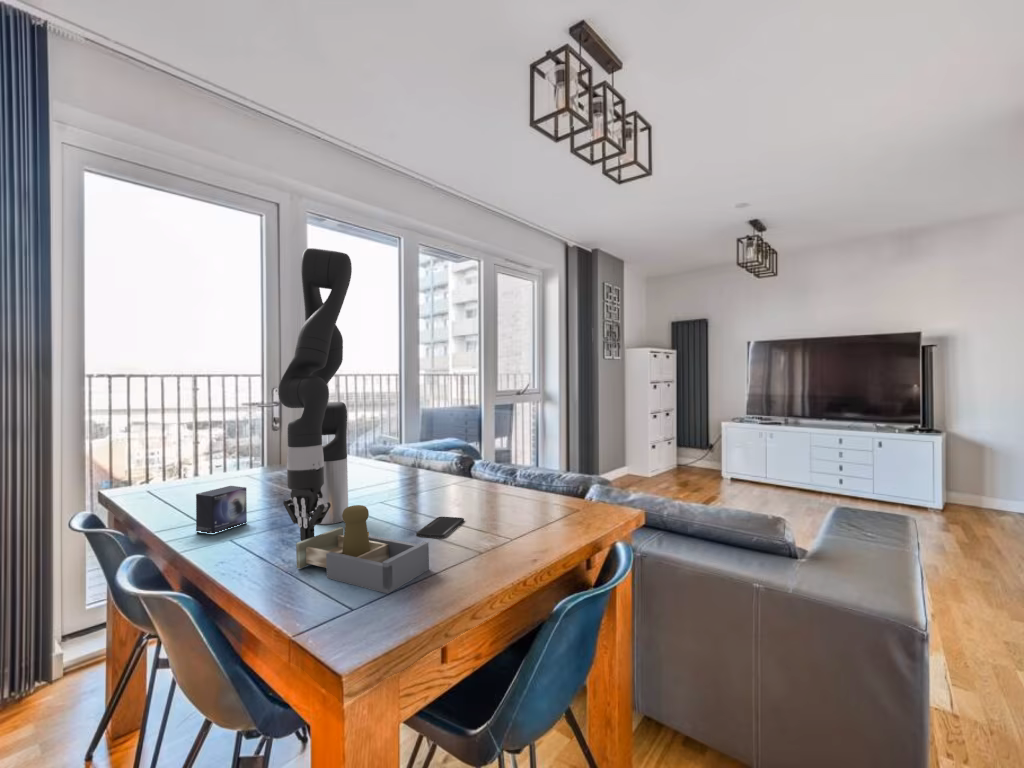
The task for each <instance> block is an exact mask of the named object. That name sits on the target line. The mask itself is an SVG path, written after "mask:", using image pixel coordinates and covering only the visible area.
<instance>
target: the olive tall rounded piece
mask: <svg viewBox="0 0 1024 768" xmlns="http://www.w3.org/2000/svg"><path fill="white" fill-rule="evenodd" d="M369 513H370V512H369V509H368V507H367V506H365V505H361V504H356V505H351V506H348V507H347V508H345V509H344V511H343V514H342V518H343V521H342V522H344V523H345V525H344V541H343V550H342V554H344V555H349V556H353V557H358V556H360V555H362V554H365V553H367V552H369V551H371V549H370V543H369V537H368V532H369V531H368V525H367V520H368V519H369V516H370V514H369Z"/></svg>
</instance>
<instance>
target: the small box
mask: <svg viewBox="0 0 1024 768" xmlns="http://www.w3.org/2000/svg"><path fill="white" fill-rule="evenodd" d="M195 498H196V499H195V506H196V507H195V508H196V509H195V513H196V514H195V515H196V517H195V519H196V520H195V523H196V526H195V532H196V531H201V532H207V533H215V532H219V531H222V530H225V529H228V528H231V527H234V526H237V525H240V524H243V523H246V522H247V521H248V519H247V517H248V513H247V508H248V507H247V504H248V503H247V487H245V486H238V485H228V486H227V485H226V486H224V487H219V488H216V489H209V490H207V491H203V492H199V493H196V494H195ZM247 523H248V522H247Z"/></svg>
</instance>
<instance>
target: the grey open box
mask: <svg viewBox="0 0 1024 768" xmlns="http://www.w3.org/2000/svg"><path fill="white" fill-rule="evenodd" d="M368 537H369V540H370V541H375V542H380V543H385V544H389V559H388V560H386V561H384V562H382V563H380V562H375V561H371V560H366V559H362V558H357V557H353V556H348V555H344V554H339V553H335V552H329V553H327V554H326V564H327V568H326V578H327V579H331V580H333V581H338V582H341V583H346V584H349V585H353V586H357V587H361V588H365V589H369V590H372V591H376V592H380V593H383V594H390V593H392V592H394V591H395V590H397V589H399V588H400V587H402V586H403V585H405V584H407V583H409V582H410V581H412V580H414V579H416V578H417V577H419V576H421V575H422V574H424V573H426V572H427V571H429V570H430V555H429V554H430V550H429V548H430V547H429V544H430V543H429V542H428V541H422V542H420V543H414V542H408V541H403V540H397V539H392V538H387V537H381V536H378V535H377V536H376V535H371V534H369V536H368Z"/></svg>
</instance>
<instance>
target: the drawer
mask: <svg viewBox="0 0 1024 768" xmlns="http://www.w3.org/2000/svg"><path fill="white" fill-rule="evenodd" d="M344 532H345V530H344V527H342V526H339V527H336V528H333V529H331V530H328V531H326V532H323V533H320V534H317V535H314V537H312V538H309V539H306V540H303V541H301V540H300V541H298V542H296V543H295V545H296V546H295V547H296V552H295V554H296V556H295V557H296V558H295V559H296V569H298V570H299V569H303V568H305V567H307V566H310V565H313V566H317V567H320V568H324V569H325V568H326V569H327V564H326V554H327V553H329V552H335V553H339V554H342V550H343V541H344ZM369 543H370V549H371V551H369V552H367V553H365V554H362V555H360V556H358V557H357V558H362V559H366V560H371V561H375V562H380V563H382V562H384V561H386V560H388V559H389V544H385V543H380V542H375V541H370V540H369ZM348 556H349V555H348Z"/></svg>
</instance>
